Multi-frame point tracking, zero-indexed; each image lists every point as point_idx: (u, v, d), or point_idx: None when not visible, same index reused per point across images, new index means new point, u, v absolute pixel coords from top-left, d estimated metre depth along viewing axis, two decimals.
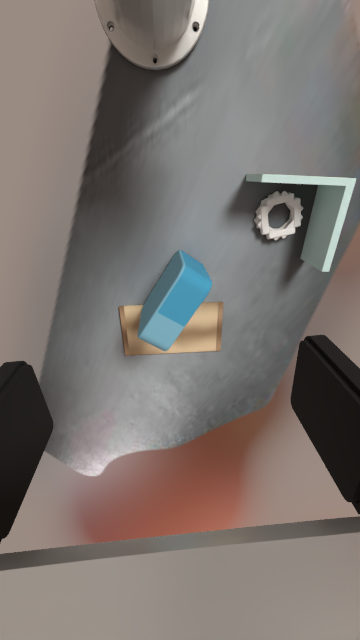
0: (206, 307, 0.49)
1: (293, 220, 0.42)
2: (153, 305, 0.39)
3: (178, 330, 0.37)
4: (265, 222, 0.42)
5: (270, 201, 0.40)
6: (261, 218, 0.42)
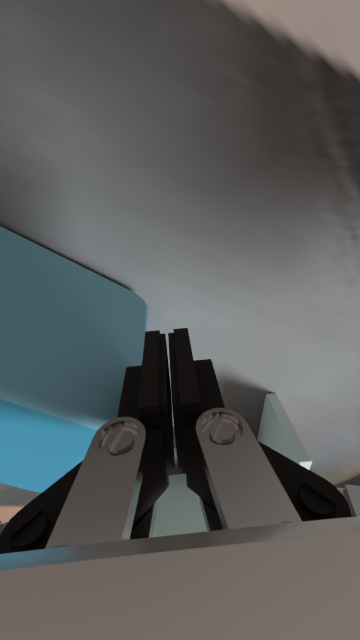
0: None
1: None
2: None
3: None
4: None
5: None
6: None
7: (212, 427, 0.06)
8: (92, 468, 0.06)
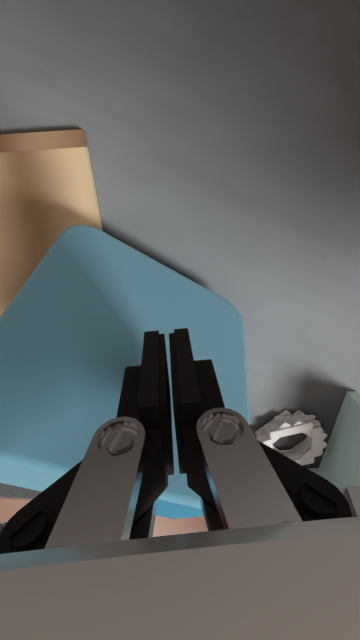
0: None
1: None
2: (107, 382, 0.11)
3: None
4: (288, 432, 0.26)
5: (318, 432, 0.26)
6: (295, 426, 0.25)
7: (213, 427, 0.06)
8: (91, 468, 0.06)
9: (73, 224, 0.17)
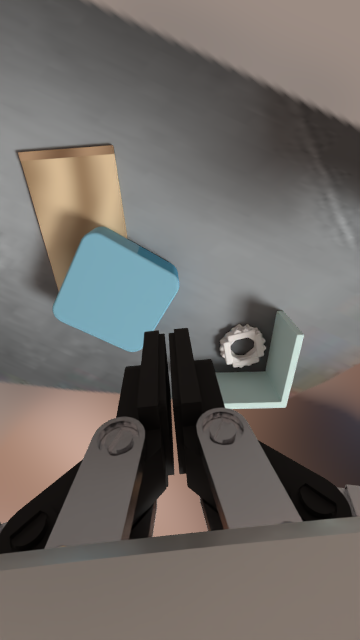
0: None
1: (238, 360, 0.43)
2: (94, 311, 0.33)
3: None
4: (239, 336, 0.40)
5: (259, 337, 0.41)
6: (243, 332, 0.40)
7: (213, 427, 0.06)
8: (91, 468, 0.06)
9: (105, 195, 0.32)
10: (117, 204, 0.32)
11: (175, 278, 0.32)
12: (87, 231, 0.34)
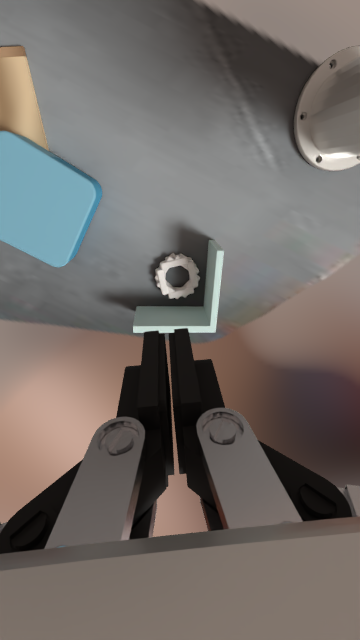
0: None
1: (174, 291, 0.44)
2: (13, 219, 0.34)
3: None
4: (172, 264, 0.42)
5: (191, 266, 0.42)
6: (176, 259, 0.41)
7: (213, 427, 0.06)
8: (91, 468, 0.06)
9: (21, 102, 0.33)
10: (34, 112, 0.33)
11: (90, 184, 0.33)
12: None
